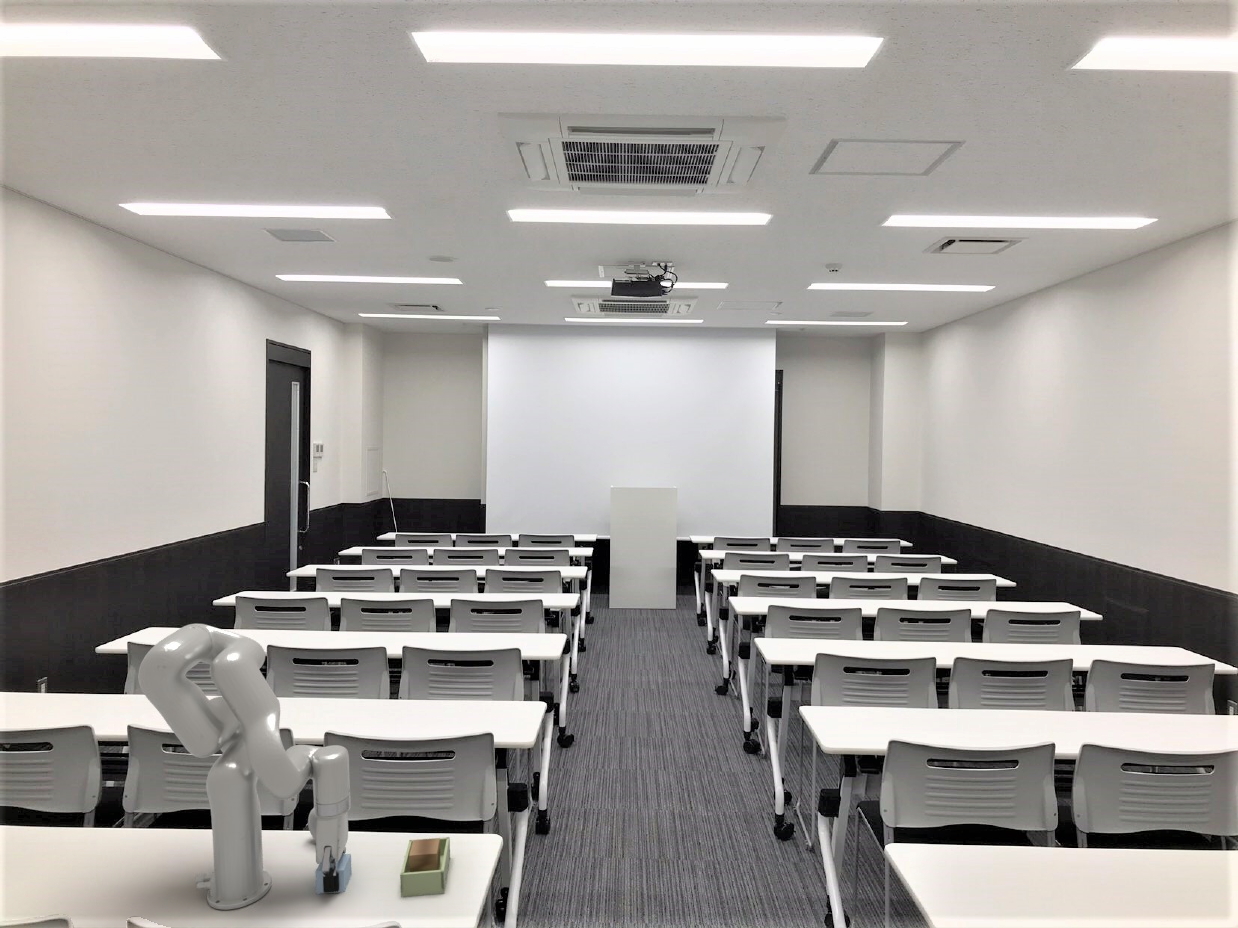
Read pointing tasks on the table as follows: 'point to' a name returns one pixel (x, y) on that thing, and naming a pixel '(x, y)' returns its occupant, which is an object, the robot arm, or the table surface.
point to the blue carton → (342, 869)
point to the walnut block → (424, 855)
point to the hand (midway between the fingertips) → (335, 880)
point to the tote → (426, 874)
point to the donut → (312, 823)
